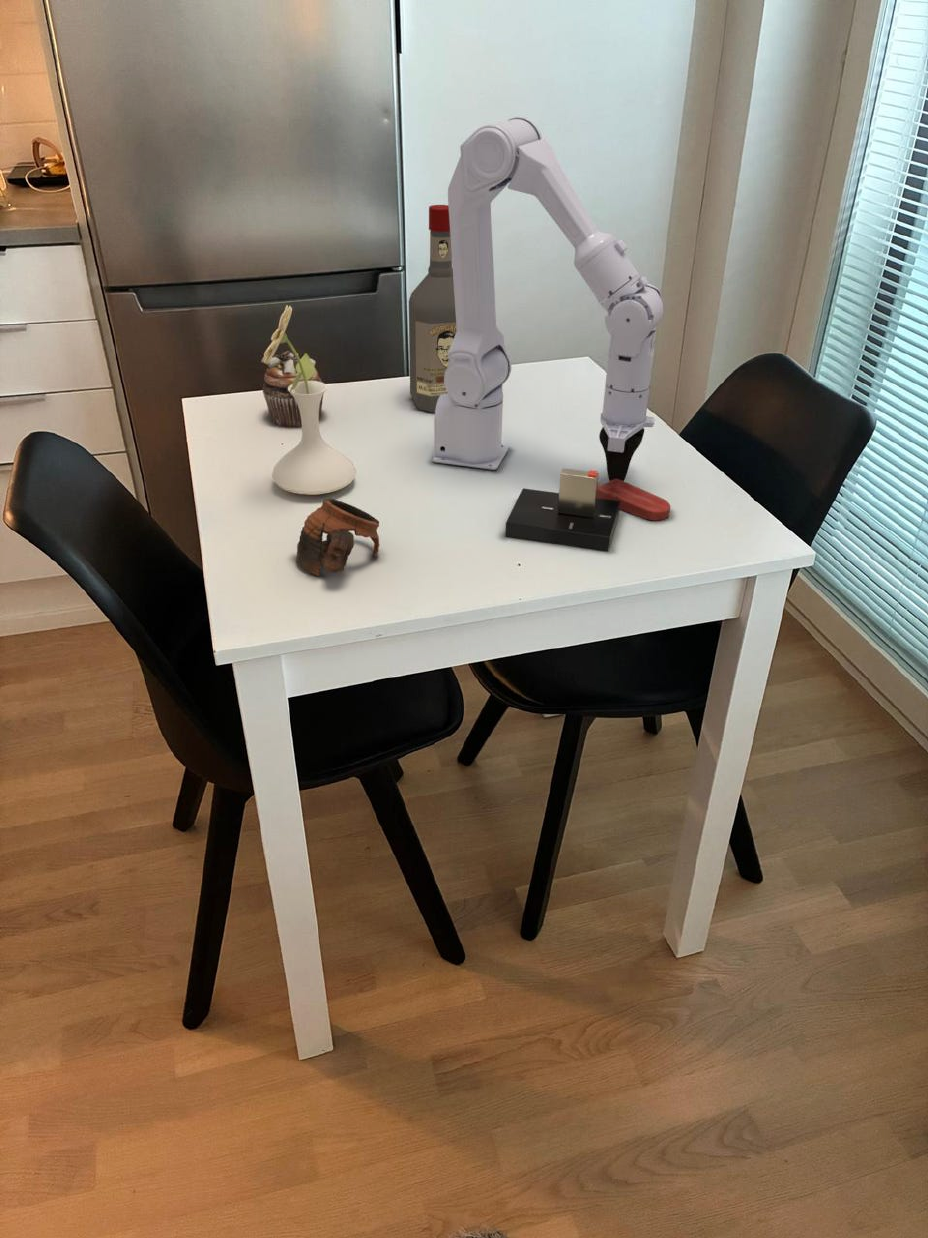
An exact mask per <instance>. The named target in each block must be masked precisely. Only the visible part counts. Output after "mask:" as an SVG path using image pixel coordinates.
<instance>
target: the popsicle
mask: <svg viewBox="0 0 928 1238" xmlns="http://www.w3.org/2000/svg"><path fill="white" fill-rule="evenodd" d="M597 498H599V499H607V500H614V501H620V510H622V511H624V512H626V513H630V514H632V515H635V516H637V517H639V518H642V519H644V520H648V521H662V520H665V519H667V518H668V517H669V516H670V512H671V504H670V503H669V501H667V500H666V499H664V498H662V497H660V496H658V495H655V494H653V493H651V492H649V491H647V490H645V489H643V488H639V487H637V486H635V485H633V484H631V483H628V482H626V481H625V480H624V481H622V480H620V479H613V480H611V481H609V480H608V481H607V482H605V483H604V484H603V483H600V482H598V489H597Z"/></svg>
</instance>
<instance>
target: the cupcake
mask: <svg viewBox="0 0 928 1238" xmlns="http://www.w3.org/2000/svg"><path fill="white" fill-rule="evenodd" d="M297 355H298V357H299V359H301V358H302V357H303V356H304V355H305V353H303V354H300V355H299V353H297ZM307 355H308V357H309V358H310V360H311V362H312V363H313V365H314V367H315V366H316V360H314V358H311V356H310V355H309V354H307ZM297 363H298V361H297V359H296V357H295V355H294V353H293V352H292V350H291V349H290V350H288V351H284V352H282V353H281V354H274V355H273V357H272V358H271V360H270V361H269V363H268V364H267V366H268V367H267V368H266V371H265V373H264V375H263V380H264V383H263V384H262V389H261V390H262V394H263V397H264V400H265V403H266V406H267V409H268V413H269V417H270V420H271V422H272V423H274V424H275V425H278V426H281V427H285V428H286V427H287V428H300V427H301V428H302V421H301V415H300V410H299V407H298V404H297V402H296V400H295V398H294V397H293V395H292V394H291V393H290V392H289V391H288V387H289V386H290V385H291V384H293V381H294V379H295V377H296V376H297V375H298V373H297V371H296V365H297ZM301 381H304V379H302V378H300V380H299V382H301ZM307 381H317V382H321V383H323V380H322V378H321V377H320V376H319V372H318V370H317V369H316V373H315V375H314V376H313V377H311V378H310V379H309V380H307ZM323 400H324V395H323V396H322V398H321V401H320V406H319V421H320V420H321V418H322V409H323Z"/></svg>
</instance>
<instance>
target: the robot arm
mask: <svg viewBox="0 0 928 1238" xmlns="http://www.w3.org/2000/svg"><path fill="white" fill-rule="evenodd" d="M459 148H460V157H459V159H458V161H457V164H456V166H455V169H454V172H453V174H452V176H451V180H450V182H449V184H448V187H447V202H448V203H447V205H448V206H449V221H450V236H451V251H452V268H453V281H454V296H455V311H456V326H457V332H456V335H455V337H454V339H453V342H452V344H451V346H450V349H449V352H448V357H449V362H448V367H447V369H446V372H445V375H444V385H445V388H446V391H447V393H448V394H442V395H440V397H439V399H438V401H437V404H436V409H435V413H434V420H433V421H434V423H433V425H434V426H433V429H434V431H433V433H434V434H433V436H434V437H433V439H434V440H433V441H434V443H433V446H434V447H433V448H434V450H433V451H434V453H433V454H434V455H433V458H432V462H433V463H438V464H445V465H451V466H452V465H453V466H462V467H468V468H476V469H485V470H490V471H491V470H492V471H496V470H497V469H498V468H499V466H500V465H501V463H502V461H503V459H504V458H505V455H506V454H507V453H508V450H509V446H508V445H506V444H502V435H503V412H504V411H503V408H504V393H503V387H504V386H503V385H504V384H505V383H506V382H507V381H508V379H509V378H510V376H511V374H512V361H511V358H510V355H509V354H508V351H507V349H506V346H505V336H504V334H503V333H502V331H500V330H499V328H498V327H497V315H496V314H497V313H496V292H495V291H496V290H495V271H494V247H493V226H492V202H493V201H494V200H495V199H496V198H497V196H498V195H500V193H501V192H502V191H503V190H504V189H505V188H506V187H507V189H508V190H511V191H515V192H519V193H523V194H527V195H531V196H534V197H535V198H536V200H537V201H538V202H539V203H540V204H541V206H542V207H543V208H544V210H545V211H546V212H547V213H548V215H549V216H550V218H551V219H552V220H553V222H554V223H555V224H556V225H557V227H558V229H560V231H561V232H562V233H563V235H564V236H565V237H566V239H567V240H568V242H569V243H570V244H571V245H572V247H573V248H574V260H573V265H574V267H575V269H576V270H577V272H578V273H579V274H580V276H581V277H582V279H583V281H584V282H585V284H586V285H587V287H588V288H589V289H590V291H591V293H592V294H593V295H594V297H595V298H596V300H597V301H598V303H599V304H600V306H601V307H602V308H603V310H605V311H606V313H607V315H605V316H604V323H605V327H606V330H607V331H608V333H609V335H610V341H609V342H610V343H609V348H608V356H607V367H606V376H605V384H604V393H603V405H602V412H601V413H600V420H599V421H600V423H601V426H602V427H601V429H600V432H599V437H598V438H599V442H600V444H601V446H602V449H603V452H604V455H605V461H606V471H607V479H608V482H609V481H611V480H613V479H620V480H622V481H624V482H625V480H626V479H627V475H628V471H629V469H630V465H631V462H632V458H633V457H634V454H635V452H636V451H637V449H639V447H640V445H641V443H642V441H643V438H644V434H645V428H653V427H654V425H655V421H656V419H655V417H653V416H649V415H647V412H648V403H649V396H650V388H651V382H652V374H653V366H654V357H655V343H656V335H657V330H656V329H655V328H656V327H657V326H658V325H659V324H660V322H661V321H662V319H663V317H664V315H665V309H666V308H665V306H666V305H665V301H664V298H663V296H662V294H661V290H660V289H659V288H658V287H657V286H655V285H653V284H652V283H649V281H648V280H647V278H646V277H645V276H642V277H641V275H640V274H639V272H638V270H637V269H636V268H635V266H634V264H633V262H632V261H631V260H630V258H629V257H628V256H627V254H626V252H625V251H626V250H628V247H627V245H626V243H625V242H624V241H623V239H620V240H618V241H617V239H616V237H615V236H614V234H612V233H606V232H602V231H599V230H598V229H597V227H596V225H595V223H594V221H593V220H592V218H591V216H590V215H589V213H588V211H587V210H586V208H585V206H584V204H583V203H582V201H581V200H580V198H579V196H578V194H577V193H576V191H575V189H574V188H573V186H572V184H571V183H570V181H569V178H568V177H567V176H566V174H565V173H564V170H563V169H562V167H561V166H560V164H559V161H558V159H557V156H556V155H555V152H554V149H553V147H552V145H551V144H550V143H549V141H548V140H547V139H546V138H543V136H542V134H541V131H540V129H539V128H538V126H537V125H536V124H535V123H534V122H533V121H532V120H530V119H528V118H526V117H522V116H515V117H512V118H509V119H507V120H505V121H501V122H497V123H493V124H491V123H489V124H488V123H487V124H484V125H482V126H479V127H478V128H477V129H475V130H474V131H473V132H472V133H471V134H470V135H469V136H468V137H467V138H466V139H465V140H464V141H463V142H462V143H461V145H460V146H459Z"/></svg>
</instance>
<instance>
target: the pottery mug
mask: <svg viewBox="0 0 928 1238" xmlns="http://www.w3.org/2000/svg"><path fill="white" fill-rule="evenodd" d="M379 527H380V521H379V520H378V519H377V518H376V517H374V516H373V515H371V514H370V513H368V512H366V511H365V510H362V509H361V508H358V507H356V506H355V505H354V506H353V505H351V504H349V503H347V502H343V501H342V500H338V499H335V498H324V499H323V500H322V504H321V506H320V507H317V509H316V510H314V511H312V512H311V513H310V514H309V515H308V516H307V517H306V519H305V520H304V525H303V527H302V529H301V531H300V535H299V541H298V542H297V545H296V556H295V561H296V563H297V564H298V566H300V567H301V568H303V570H305V571H306V572H309V573H311V574H312V575H314V576H317V577H320V575H321V570H322V566H323V567H324V568H325V569H326V570H327V571H328V572H330V573H339V572H343V571H344V570H345V567H346V566H347V562H348V560H349V556H350V555H351V553H352V550H353V548H354V546H355V543H354V542H355V536H357V537H364V538H370V539H371V540H372V542H373V548H372V556H373V557H375V558H376V557H377V556H378V553H379V548H380V538H379V537H380V536H379V533H378V531H377V530H378V528H379ZM353 531H354V534H353V533H352V532H353ZM324 534H325V535H326V537H325V538H326V540H323V535H324ZM354 535H355V536H354Z"/></svg>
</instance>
